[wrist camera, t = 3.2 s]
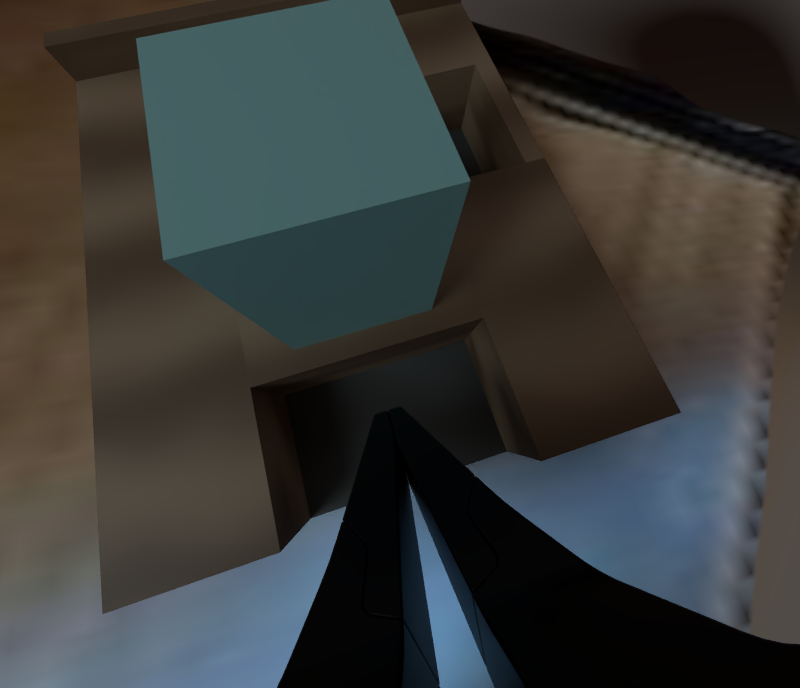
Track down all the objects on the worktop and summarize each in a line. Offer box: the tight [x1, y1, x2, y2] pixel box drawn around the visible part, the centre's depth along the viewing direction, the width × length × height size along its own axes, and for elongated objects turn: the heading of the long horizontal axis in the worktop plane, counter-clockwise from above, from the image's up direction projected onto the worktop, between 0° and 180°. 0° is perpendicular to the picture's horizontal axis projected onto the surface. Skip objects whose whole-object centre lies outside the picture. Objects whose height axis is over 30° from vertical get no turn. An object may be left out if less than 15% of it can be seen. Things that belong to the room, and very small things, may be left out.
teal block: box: [136, 0, 471, 350], centre depth 10 cm, size 6×6×7 cm
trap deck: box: [44, 0, 681, 614], centre depth 15 cm, size 26×22×6 cm
